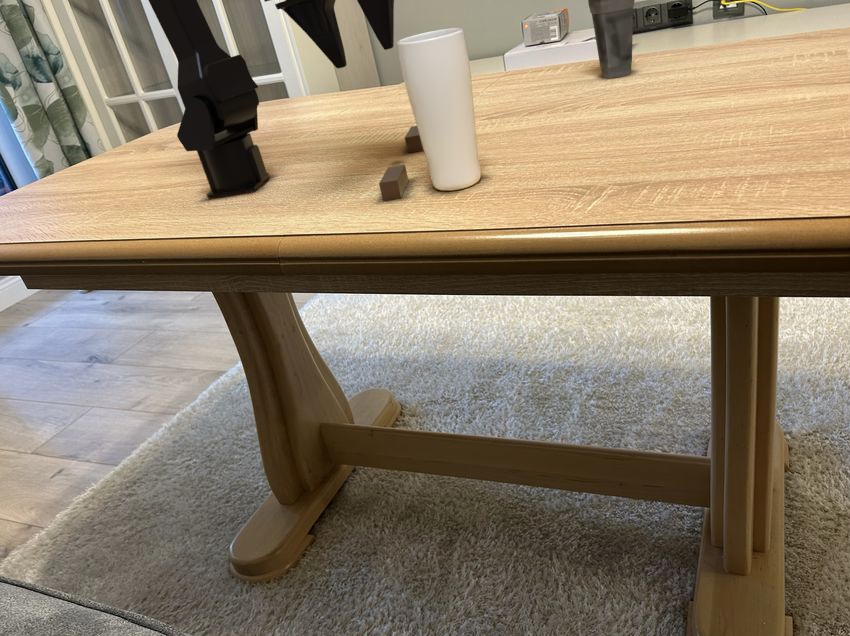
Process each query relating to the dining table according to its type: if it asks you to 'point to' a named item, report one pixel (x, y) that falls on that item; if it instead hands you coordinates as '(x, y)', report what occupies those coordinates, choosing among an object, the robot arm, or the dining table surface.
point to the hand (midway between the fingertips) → (366, 57)
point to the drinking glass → (442, 104)
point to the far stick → (413, 140)
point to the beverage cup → (613, 35)
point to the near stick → (393, 182)
